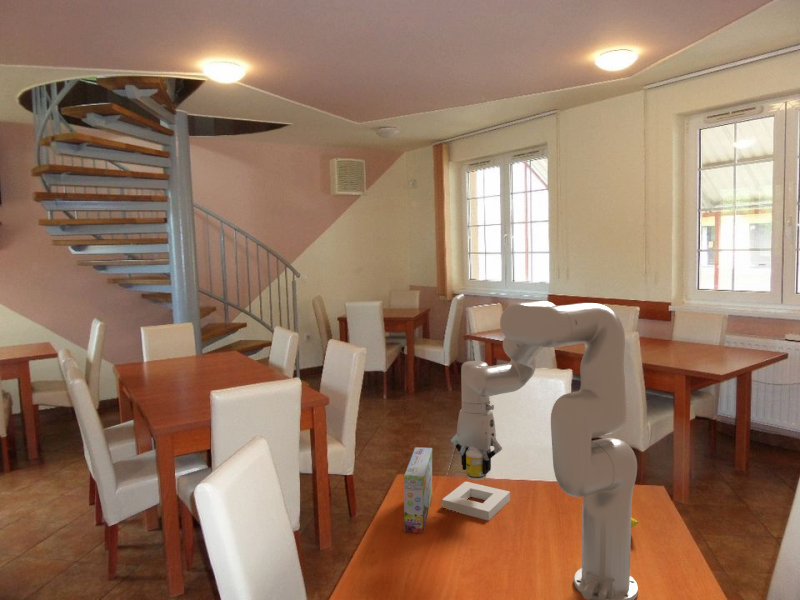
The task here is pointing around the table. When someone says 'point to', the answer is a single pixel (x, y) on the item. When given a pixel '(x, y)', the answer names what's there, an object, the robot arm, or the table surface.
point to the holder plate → (480, 510)
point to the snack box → (418, 490)
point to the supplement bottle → (474, 464)
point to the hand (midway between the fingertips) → (476, 469)
